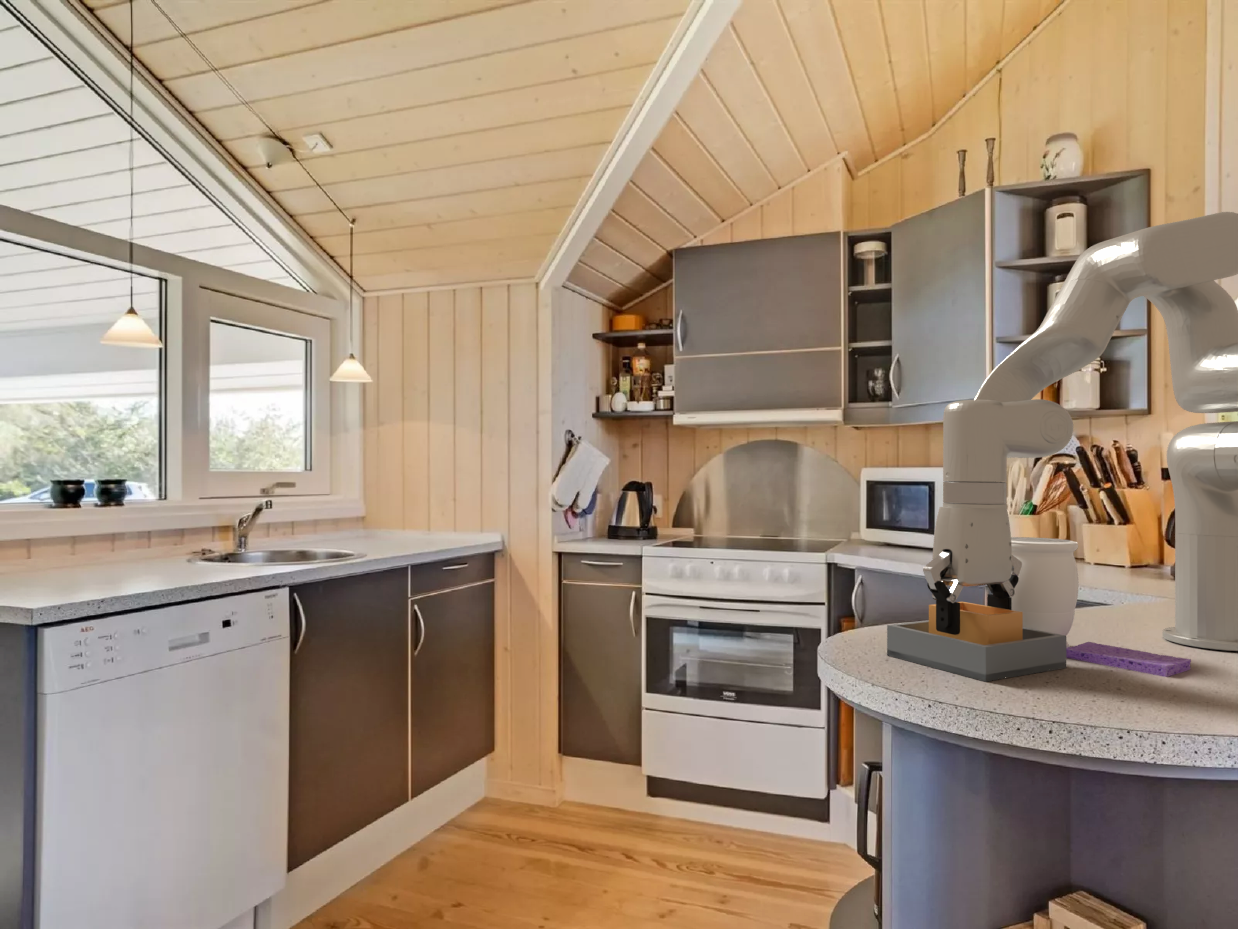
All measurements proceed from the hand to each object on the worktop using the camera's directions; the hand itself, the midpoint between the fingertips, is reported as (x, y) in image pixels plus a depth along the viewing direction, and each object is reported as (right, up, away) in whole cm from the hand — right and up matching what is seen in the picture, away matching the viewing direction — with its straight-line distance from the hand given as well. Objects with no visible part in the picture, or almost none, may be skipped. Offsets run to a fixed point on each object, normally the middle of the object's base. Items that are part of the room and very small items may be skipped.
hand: (974, 629), depth 104 cm
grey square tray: (0, -4, 0) cm, 4 cm away
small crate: (0, -3, 0) cm, 3 cm away
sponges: (+19, -5, 0) cm, 20 cm away
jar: (+12, -5, +9) cm, 16 cm away
